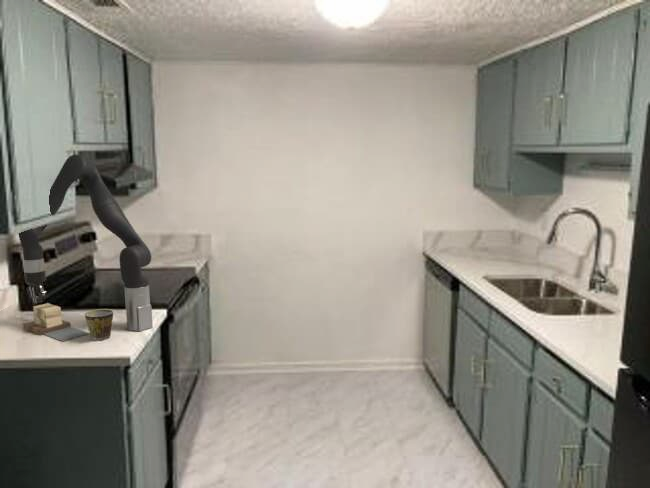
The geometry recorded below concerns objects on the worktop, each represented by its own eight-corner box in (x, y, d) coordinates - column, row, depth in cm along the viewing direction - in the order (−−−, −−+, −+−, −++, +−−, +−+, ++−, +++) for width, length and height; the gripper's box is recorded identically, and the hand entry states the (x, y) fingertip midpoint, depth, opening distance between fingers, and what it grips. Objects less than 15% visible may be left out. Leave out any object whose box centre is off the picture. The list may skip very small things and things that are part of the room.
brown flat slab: (70, 327, 222) (70, 322, 222) (40, 335, 213) (40, 330, 212) (53, 321, 230) (52, 316, 230) (23, 328, 221) (23, 323, 221)
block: (62, 324, 220) (60, 307, 219) (47, 328, 215) (45, 310, 214) (49, 319, 226) (47, 303, 225) (34, 323, 221) (32, 306, 220)
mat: (89, 333, 214) (89, 333, 214) (62, 341, 205) (62, 341, 205) (70, 327, 222) (70, 326, 222) (43, 334, 213) (43, 333, 213)
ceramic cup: (89, 334, 213) (87, 309, 211) (116, 332, 215) (114, 307, 213) (83, 346, 200) (80, 319, 199) (112, 343, 203) (110, 317, 201)
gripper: (52, 270, 220) (55, 312, 223) (36, 266, 228) (39, 306, 231) (33, 273, 215) (37, 316, 217) (17, 269, 222) (21, 311, 225)
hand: (38, 311), depth 224 cm, fingers closed
